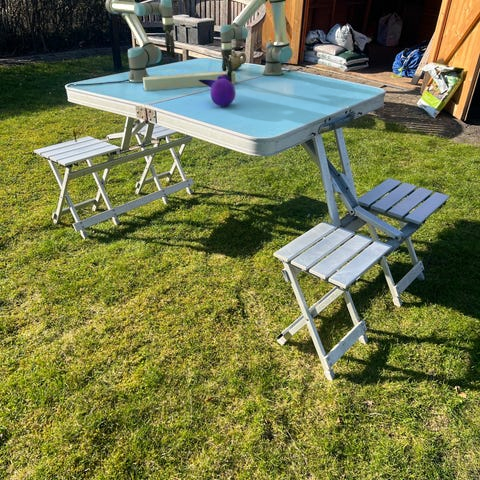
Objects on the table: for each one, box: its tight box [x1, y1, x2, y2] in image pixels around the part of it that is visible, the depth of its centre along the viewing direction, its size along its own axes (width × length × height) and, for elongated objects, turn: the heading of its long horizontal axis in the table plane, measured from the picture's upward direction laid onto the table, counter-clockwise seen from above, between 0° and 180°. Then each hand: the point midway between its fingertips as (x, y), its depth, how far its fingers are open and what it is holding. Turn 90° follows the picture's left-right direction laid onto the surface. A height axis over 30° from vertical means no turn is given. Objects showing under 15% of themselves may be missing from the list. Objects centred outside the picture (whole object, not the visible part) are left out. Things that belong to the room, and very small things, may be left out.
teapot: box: [229, 50, 247, 71], centre depth 368 cm, size 21×12×15 cm, turn 120°
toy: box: [199, 75, 237, 107], centre depth 269 cm, size 16×18×27 cm
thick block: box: [143, 70, 237, 92], centre depth 319 cm, size 65×10×7 cm, turn 107°
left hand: (170, 56), depth 326 cm, fingers open, 13 cm apart
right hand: (227, 81), depth 327 cm, fingers open, 12 cm apart
